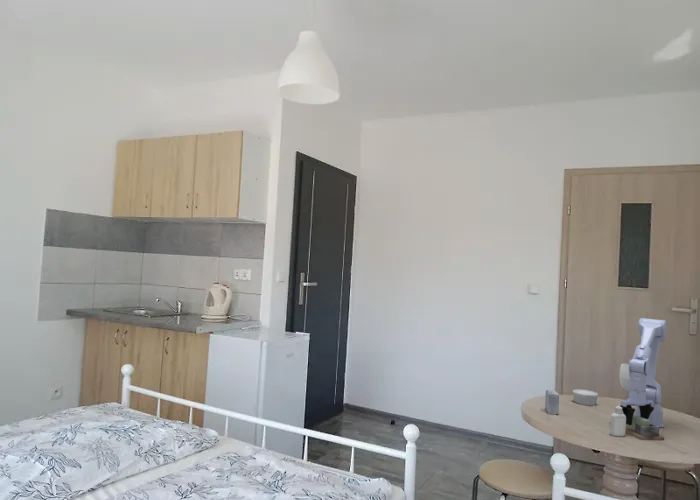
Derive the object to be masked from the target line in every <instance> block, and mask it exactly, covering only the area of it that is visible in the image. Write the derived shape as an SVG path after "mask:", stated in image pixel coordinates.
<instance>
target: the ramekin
mask: <svg viewBox="0 0 700 500" xmlns="http://www.w3.org/2000/svg"><path fill="white" fill-rule="evenodd" d="M572 395H573V396H572V397H573V401H574V402H575V403H576V404H578V405H583V406H589V407H590V406H591V407H592V406H595V405H596V404H597V402H598V398H599V397H598V396H599V394H598V392H596V391H593V390H588V389H573V390H572Z"/></svg>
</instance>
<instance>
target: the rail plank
mask: <svg viewBox="0 0 700 500" xmlns="http://www.w3.org/2000/svg"><path fill="white" fill-rule="evenodd" d="M635 423H637V424H639V425H642V426H650V420H648V419H645V418H642V417H639V416H636V414H635V413H634V414H633V419H632V425H628V424H626V427H628V428H630V429H633V430H635Z"/></svg>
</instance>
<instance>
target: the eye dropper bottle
mask: <svg viewBox="0 0 700 500" xmlns="http://www.w3.org/2000/svg"><path fill="white" fill-rule="evenodd" d="M620 405H621V403H617V404H616V406H615V409H614V412H613V413H611V414H610V421H609V434H610V435H611V436H613V437H625V436H626V416H625V415H624V414H623V411H622V407H621V406H620Z"/></svg>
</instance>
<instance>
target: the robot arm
mask: <svg viewBox="0 0 700 500" xmlns="http://www.w3.org/2000/svg"><path fill="white" fill-rule="evenodd" d="M637 326H638V327H637V328H638V331H639V336H640V337H641V339H640V344H638V345H636V347H635V351H634V352H633V357H632V358H630V359H629V362H628V364H629V377H630V391H628V392H629V393H628V395H629V397H628V398H627V399H624V400H622V399H621V400H620V406H621V407H622V414H624V415H625V416H626V424H628V425H632V419H633V414H634V415H636V416H639V417H642V418H645V419H648V420H650V424H653V425H655V426H657V427H660V428H664V427H665V426H664V425H663V423H664V410H663V407H662V405H661V404H660V403H661V401H662V386H661V384H660V383H659V382H657V381H656V373H657V364H658V358H659V357H658V356H659V350H660V349H659V348H660V346H661V343H662V342H666V338H667V330H668V324H667V321H666V320H665V319H656V318H655V319H654V318H653V319H651V318H646V317H645V318H644V317H640V318H639V320H638V325H637ZM633 407H635V408H633Z"/></svg>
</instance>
